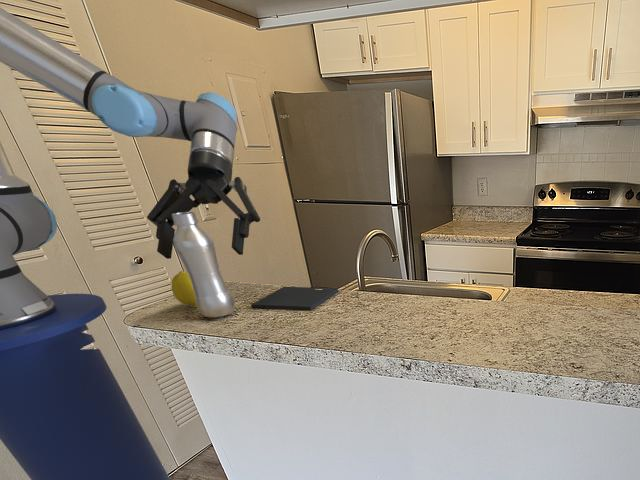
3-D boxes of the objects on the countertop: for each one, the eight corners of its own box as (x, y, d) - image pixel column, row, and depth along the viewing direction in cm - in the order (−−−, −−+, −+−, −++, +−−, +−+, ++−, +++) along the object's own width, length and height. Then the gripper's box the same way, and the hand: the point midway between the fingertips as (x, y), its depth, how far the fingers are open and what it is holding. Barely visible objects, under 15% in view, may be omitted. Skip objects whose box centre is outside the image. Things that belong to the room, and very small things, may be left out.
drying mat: (251, 307, 86) (250, 304, 86) (284, 289, 97) (283, 286, 96) (311, 310, 84) (310, 306, 84) (338, 291, 94) (338, 288, 94)
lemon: (174, 312, 85) (158, 275, 82) (190, 303, 90) (176, 267, 86) (200, 311, 85) (186, 274, 82) (215, 302, 90) (202, 267, 86)
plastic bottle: (216, 323, 79) (176, 217, 70) (194, 318, 82) (153, 215, 72) (245, 311, 84) (211, 211, 75) (223, 307, 87) (188, 210, 77)
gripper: (280, 173, 88) (275, 259, 82) (161, 178, 87) (147, 266, 81) (264, 146, 81) (257, 238, 75) (134, 151, 79) (117, 245, 73)
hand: (200, 253), depth 78 cm, fingers open, 13 cm apart
